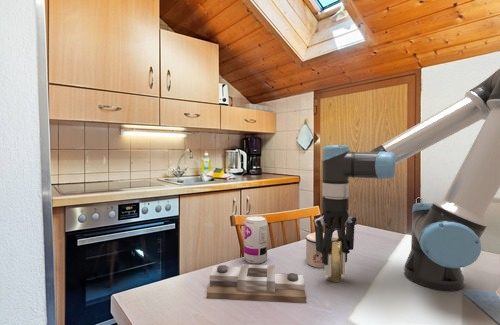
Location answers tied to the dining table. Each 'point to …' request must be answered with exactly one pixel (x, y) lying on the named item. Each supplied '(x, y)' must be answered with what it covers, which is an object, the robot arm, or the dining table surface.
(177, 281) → the dining table surface
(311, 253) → the teacup with lid
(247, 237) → the supplement can
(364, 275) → the dining table surface
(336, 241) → the brass pin
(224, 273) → the pin insertion fixture
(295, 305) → the dining table surface
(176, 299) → the dining table surface
